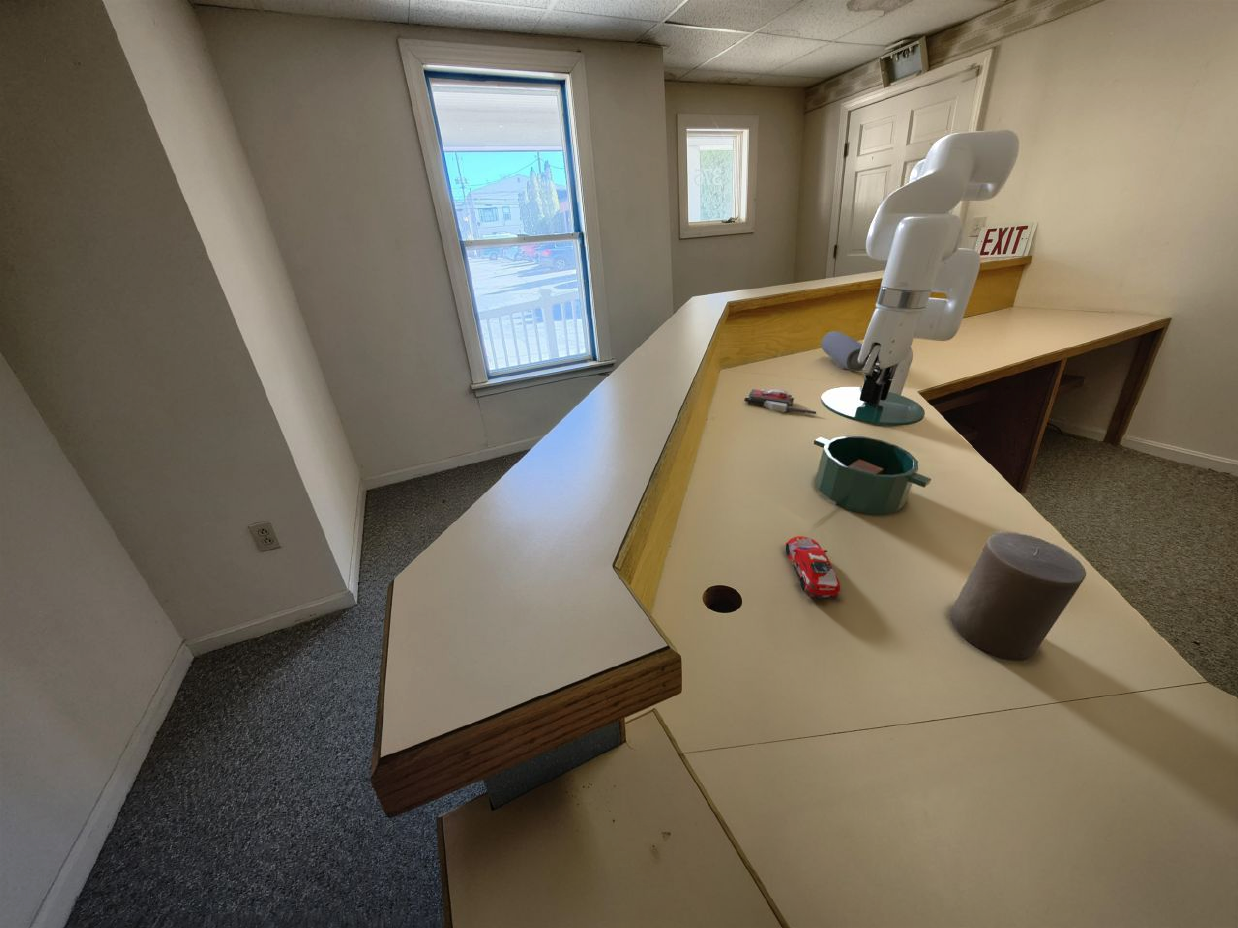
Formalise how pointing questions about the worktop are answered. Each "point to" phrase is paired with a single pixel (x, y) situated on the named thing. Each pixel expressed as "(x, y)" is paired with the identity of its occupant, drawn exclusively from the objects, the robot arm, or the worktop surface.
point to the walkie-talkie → (774, 400)
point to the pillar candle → (1015, 594)
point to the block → (866, 467)
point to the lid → (873, 407)
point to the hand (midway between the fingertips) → (872, 399)
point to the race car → (813, 568)
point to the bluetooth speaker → (842, 350)
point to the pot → (866, 474)
